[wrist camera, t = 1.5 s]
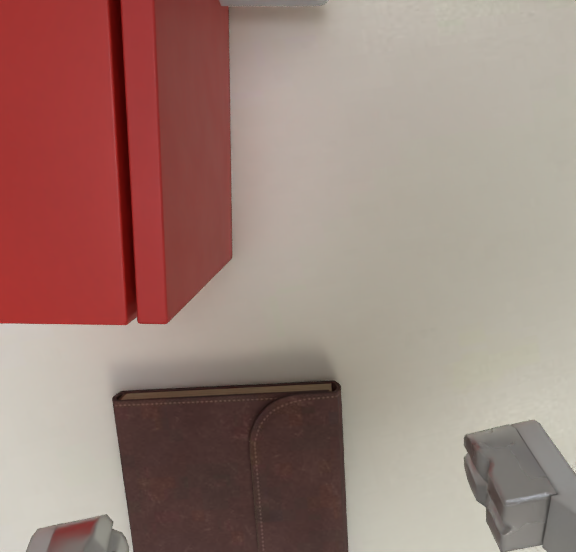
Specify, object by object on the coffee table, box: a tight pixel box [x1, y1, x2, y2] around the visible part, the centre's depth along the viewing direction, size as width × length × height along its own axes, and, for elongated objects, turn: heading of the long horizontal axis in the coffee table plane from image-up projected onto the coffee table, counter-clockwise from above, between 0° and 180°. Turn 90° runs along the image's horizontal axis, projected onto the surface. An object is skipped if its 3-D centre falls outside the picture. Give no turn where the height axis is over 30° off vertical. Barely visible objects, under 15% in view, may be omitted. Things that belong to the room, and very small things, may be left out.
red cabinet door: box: [120, 0, 328, 324], centre depth 20 cm, size 7×17×15 cm, turn 0°
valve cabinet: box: [0, 0, 137, 325], centre depth 21 cm, size 11×17×15 cm, turn 179°
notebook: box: [112, 381, 348, 552], centre depth 32 cm, size 15×20×2 cm
